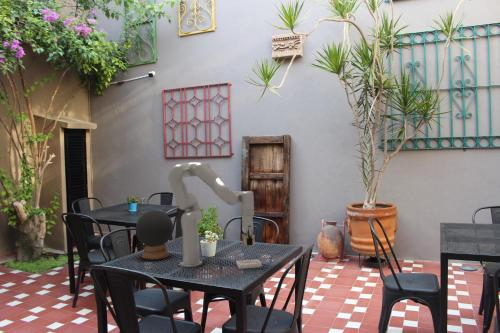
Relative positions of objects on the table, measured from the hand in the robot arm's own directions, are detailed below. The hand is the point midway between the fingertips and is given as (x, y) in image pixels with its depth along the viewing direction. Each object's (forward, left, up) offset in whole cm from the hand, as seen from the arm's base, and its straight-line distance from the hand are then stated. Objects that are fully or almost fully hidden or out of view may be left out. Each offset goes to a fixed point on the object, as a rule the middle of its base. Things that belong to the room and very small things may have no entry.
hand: (248, 243), depth 255 cm
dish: (0, 0, -13) cm, 13 cm away
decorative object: (-38, -53, -13) cm, 67 cm away
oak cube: (0, 0, -1) cm, 1 cm away
